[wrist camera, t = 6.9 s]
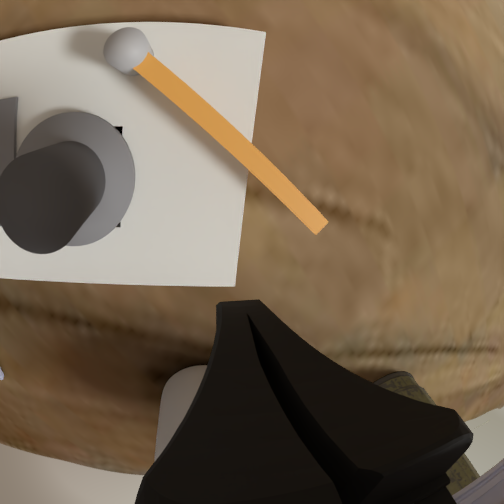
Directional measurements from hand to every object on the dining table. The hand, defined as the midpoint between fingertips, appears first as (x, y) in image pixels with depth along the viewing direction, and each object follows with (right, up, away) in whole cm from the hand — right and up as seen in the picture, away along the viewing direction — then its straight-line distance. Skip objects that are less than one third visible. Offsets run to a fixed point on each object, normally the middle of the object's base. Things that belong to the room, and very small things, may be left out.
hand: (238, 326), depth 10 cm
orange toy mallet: (-1, +8, +5) cm, 10 cm away
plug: (-9, +7, +6) cm, 13 cm away
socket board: (-10, +8, +6) cm, 14 cm away
